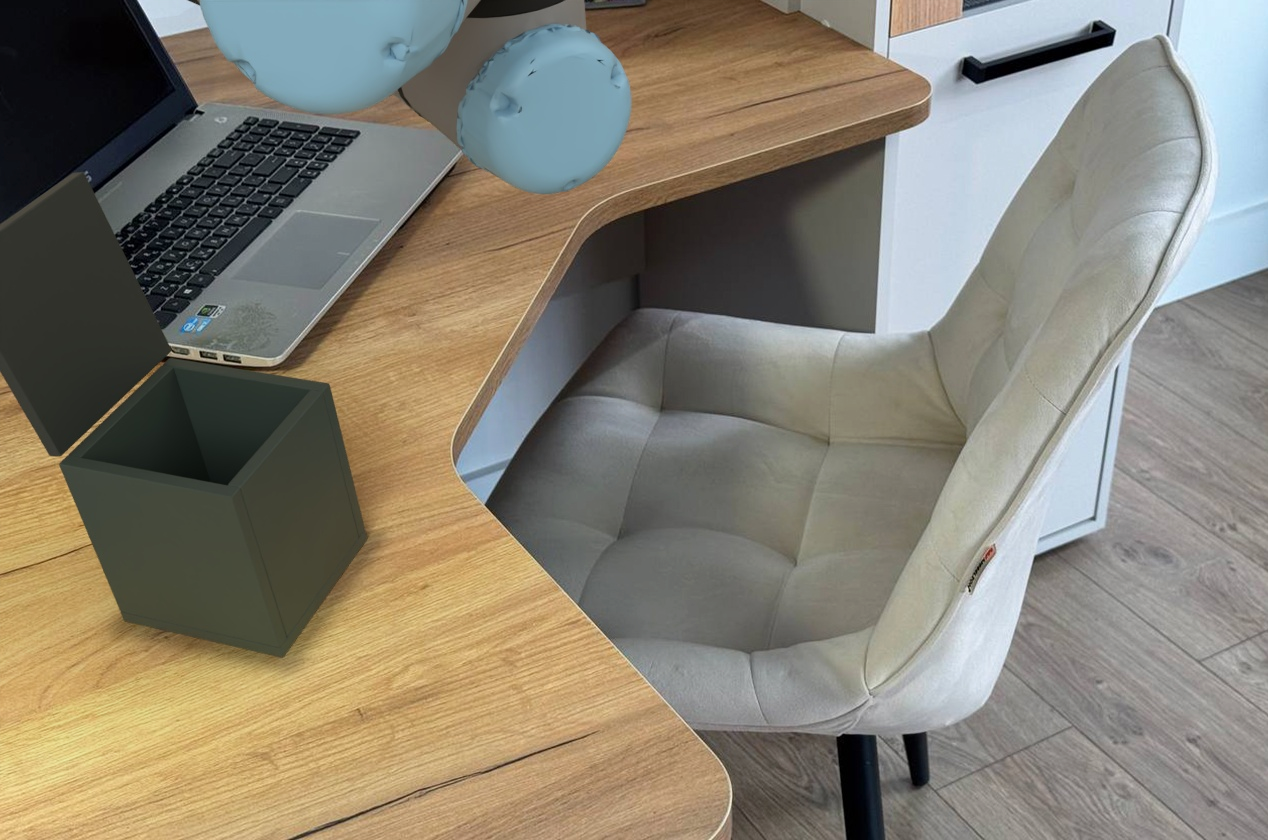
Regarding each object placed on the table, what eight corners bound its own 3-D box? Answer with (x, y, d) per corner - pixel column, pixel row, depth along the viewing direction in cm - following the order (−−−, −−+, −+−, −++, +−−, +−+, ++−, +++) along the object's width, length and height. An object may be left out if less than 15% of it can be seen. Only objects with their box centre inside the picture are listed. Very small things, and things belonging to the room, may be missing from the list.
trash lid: (84, 171, 70) (72, 172, 70) (-50, 266, 62) (-62, 267, 62) (172, 350, 76) (162, 351, 76) (60, 457, 68) (49, 457, 69)
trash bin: (367, 538, 80) (329, 382, 73) (283, 658, 73) (231, 497, 66) (219, 509, 83) (169, 357, 76) (123, 621, 76) (57, 463, 69)
